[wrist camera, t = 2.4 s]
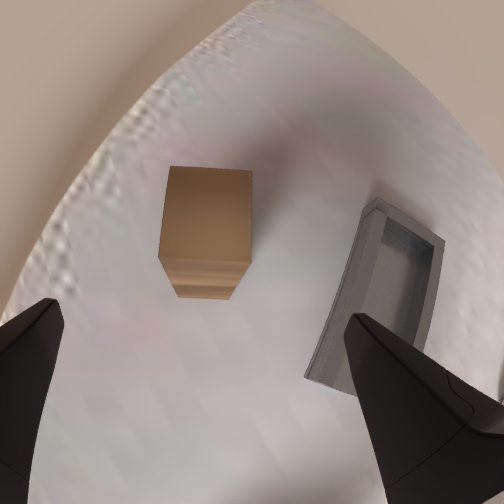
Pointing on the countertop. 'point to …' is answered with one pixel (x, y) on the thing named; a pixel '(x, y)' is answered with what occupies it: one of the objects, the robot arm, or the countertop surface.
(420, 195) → the countertop surface
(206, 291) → the brown wooden block
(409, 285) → the grey tray
